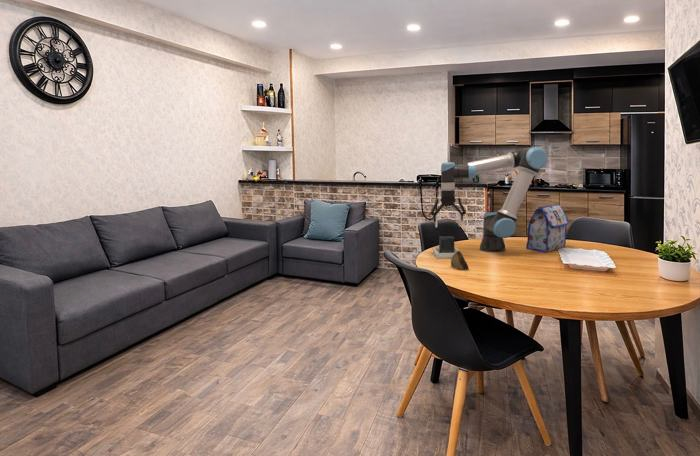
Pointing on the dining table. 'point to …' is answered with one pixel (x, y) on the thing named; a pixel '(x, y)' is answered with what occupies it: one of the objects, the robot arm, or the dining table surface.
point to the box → (446, 244)
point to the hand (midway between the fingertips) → (448, 226)
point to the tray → (443, 254)
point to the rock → (459, 261)
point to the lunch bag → (547, 229)
